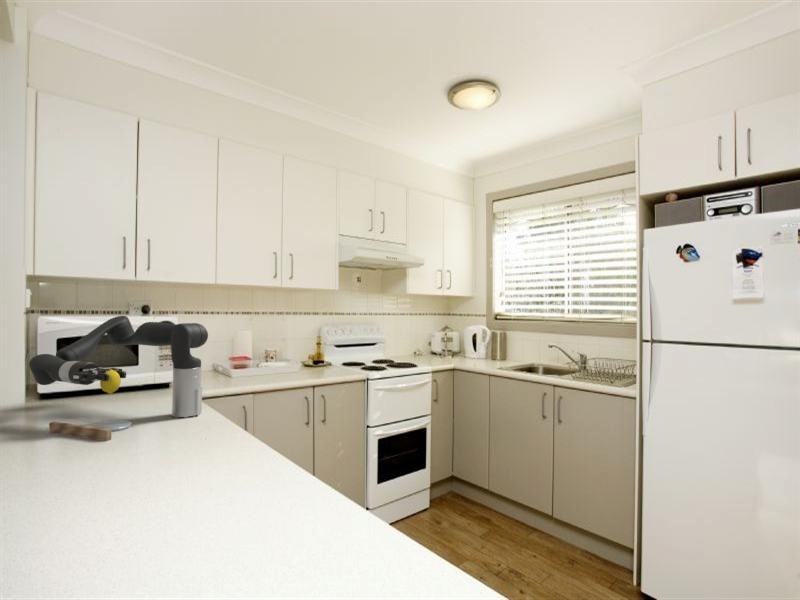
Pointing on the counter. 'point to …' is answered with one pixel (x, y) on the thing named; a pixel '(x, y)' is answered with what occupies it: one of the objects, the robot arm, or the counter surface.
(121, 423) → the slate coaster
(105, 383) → the lemon
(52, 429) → the walnut wall
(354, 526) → the counter surface
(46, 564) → the counter surface
